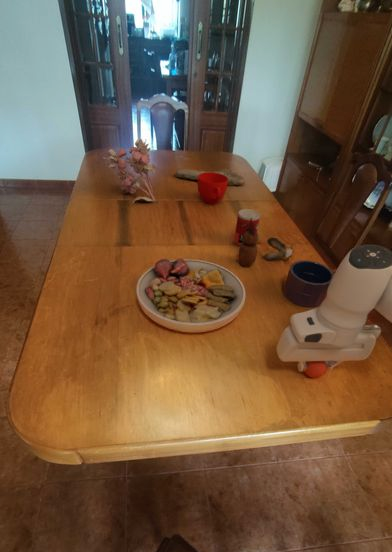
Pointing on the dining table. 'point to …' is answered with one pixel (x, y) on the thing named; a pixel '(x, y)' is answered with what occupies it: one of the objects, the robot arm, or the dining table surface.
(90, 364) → the dining table surface
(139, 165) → the flower
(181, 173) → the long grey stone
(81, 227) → the dining table surface
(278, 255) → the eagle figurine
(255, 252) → the wooden figurine
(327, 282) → the pot
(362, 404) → the dining table surface
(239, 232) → the canned food
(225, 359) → the dining table surface
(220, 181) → the ceramic cup
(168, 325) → the bowl
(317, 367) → the ball
